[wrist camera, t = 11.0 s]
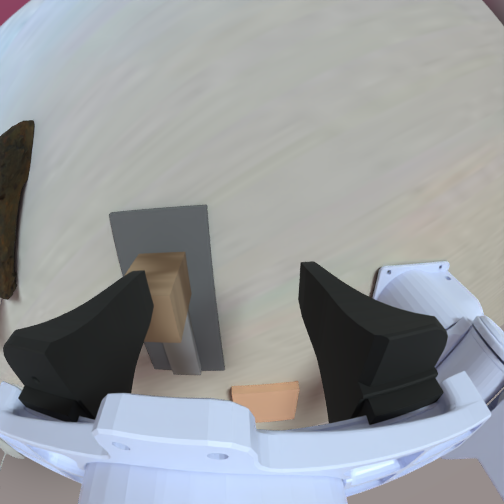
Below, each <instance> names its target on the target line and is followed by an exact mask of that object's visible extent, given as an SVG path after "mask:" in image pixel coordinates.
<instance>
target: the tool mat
mask: <svg viewBox="0 0 504 504" xmlns="http://www.w3.org/2000/svg"><path fill="white" fill-rule="evenodd" d="M109 217H110V222H111V227H112V232H113V237H114V241H115V246H116V250H117V254H118V258H119V262H120V266H121V270H122V274H123V277H124V275H125V274H126V272H127V271H128V269H129V268H130V266H131V265H132V263H133V262H134V260H135V259H136V257H137V256H138V254H144V253H166V252H185V253H186V260H187V267H188V274H189V280H190V287H191V293H192V294H191V299H190V303H189V313H190V318H191V323H192V328H193V333H194V337H195V342H196V347H197V351H198V356H199V360H200V364H201V371H221V370H225V366H224V359H223V352H222V345H221V337H220V329H219V321H218V313H217V305H216V296H215V287H214V278H213V268H212V258H211V247H210V236H209V224H208V212H207V205H195V206H179V207H166V208H153V209H142V210H131V211H121V212H111V213H110V214H109ZM144 343H145V346H146V348H147V351H148V354H149V356H150V359H151V361H152V364H153V366H154V369H163V370H172V369H171V366H170V363H169V360H168V357H167V354H166V351H165V348H164V345H163V342H144Z"/></svg>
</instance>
